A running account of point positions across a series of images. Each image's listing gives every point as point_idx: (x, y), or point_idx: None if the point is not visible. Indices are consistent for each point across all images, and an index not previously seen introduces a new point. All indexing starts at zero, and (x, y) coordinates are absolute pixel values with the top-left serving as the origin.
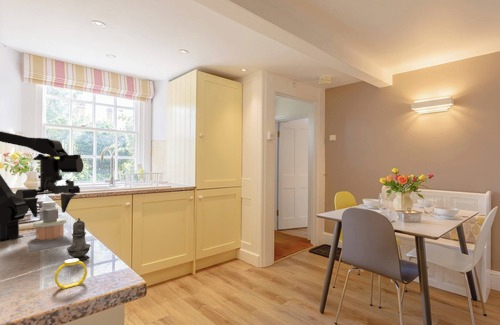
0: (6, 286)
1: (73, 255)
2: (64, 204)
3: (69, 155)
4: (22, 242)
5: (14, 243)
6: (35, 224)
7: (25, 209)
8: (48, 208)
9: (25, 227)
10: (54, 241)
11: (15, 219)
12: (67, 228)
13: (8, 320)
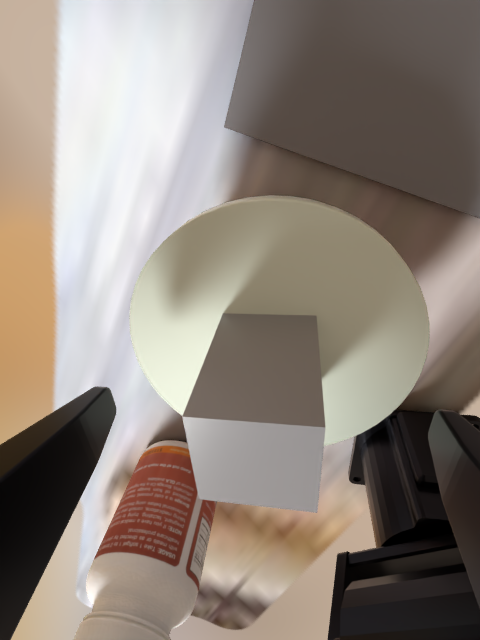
0: None
1: None
2: (28, 480)
3: None
4: (439, 316)
5: (473, 336)
6: (419, 351)
7: (390, 634)
8: (149, 594)
9: (239, 545)
10: (365, 53)
11: (420, 556)
12: (119, 389)
13: None
